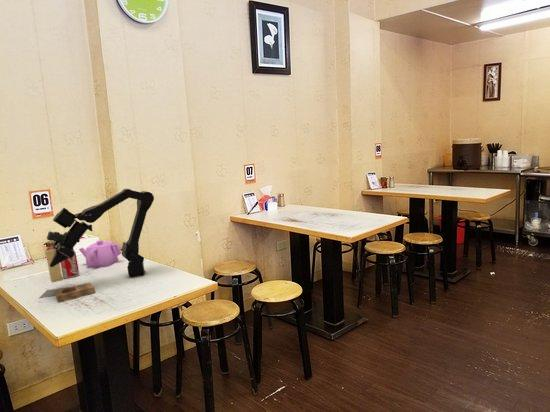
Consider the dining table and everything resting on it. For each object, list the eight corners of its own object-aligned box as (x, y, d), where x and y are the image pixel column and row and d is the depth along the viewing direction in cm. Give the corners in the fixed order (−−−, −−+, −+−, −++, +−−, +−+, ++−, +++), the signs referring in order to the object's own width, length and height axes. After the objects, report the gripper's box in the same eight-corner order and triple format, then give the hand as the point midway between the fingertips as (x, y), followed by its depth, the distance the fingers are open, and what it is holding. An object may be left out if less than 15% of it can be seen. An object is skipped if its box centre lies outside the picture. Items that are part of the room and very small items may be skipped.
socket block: (91, 288, 178) (90, 282, 177) (95, 293, 171) (94, 286, 171) (56, 297, 171) (54, 290, 170) (58, 303, 164) (57, 296, 163)
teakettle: (93, 270, 206) (89, 246, 204) (80, 265, 218) (76, 242, 216) (126, 261, 218) (122, 238, 216) (111, 257, 230) (108, 235, 228)
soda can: (73, 279, 195) (68, 252, 193) (59, 279, 196) (54, 252, 194) (82, 274, 202) (78, 248, 200) (69, 274, 203) (65, 248, 201)
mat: (71, 287, 182) (71, 286, 182) (64, 295, 173) (64, 294, 173) (47, 290, 181) (46, 290, 181) (38, 299, 171) (38, 298, 171)
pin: (61, 277, 177) (55, 248, 175) (62, 280, 173) (57, 249, 171) (50, 280, 175) (45, 250, 172) (51, 282, 171) (46, 252, 169)
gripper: (54, 221, 180) (30, 251, 176) (60, 226, 165) (33, 259, 160) (77, 235, 186) (54, 264, 181) (85, 241, 170) (59, 274, 166)
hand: (50, 265), depth 172 cm, fingers closed on pin, 4 cm apart
